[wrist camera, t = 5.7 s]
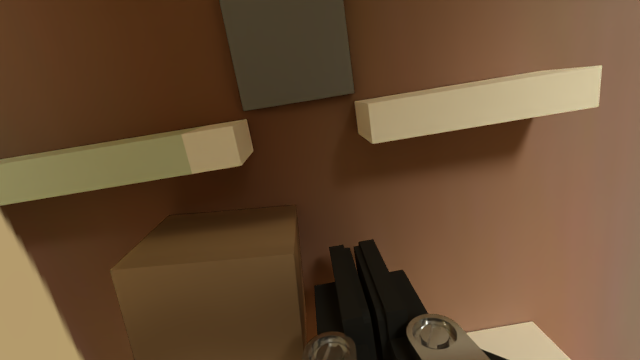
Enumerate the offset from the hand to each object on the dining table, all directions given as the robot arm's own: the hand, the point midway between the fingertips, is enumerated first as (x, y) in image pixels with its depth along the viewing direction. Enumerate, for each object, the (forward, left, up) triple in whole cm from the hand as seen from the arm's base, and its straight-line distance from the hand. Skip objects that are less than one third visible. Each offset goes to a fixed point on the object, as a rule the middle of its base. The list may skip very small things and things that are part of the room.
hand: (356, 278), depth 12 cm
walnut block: (0, -4, -2) cm, 5 cm away
